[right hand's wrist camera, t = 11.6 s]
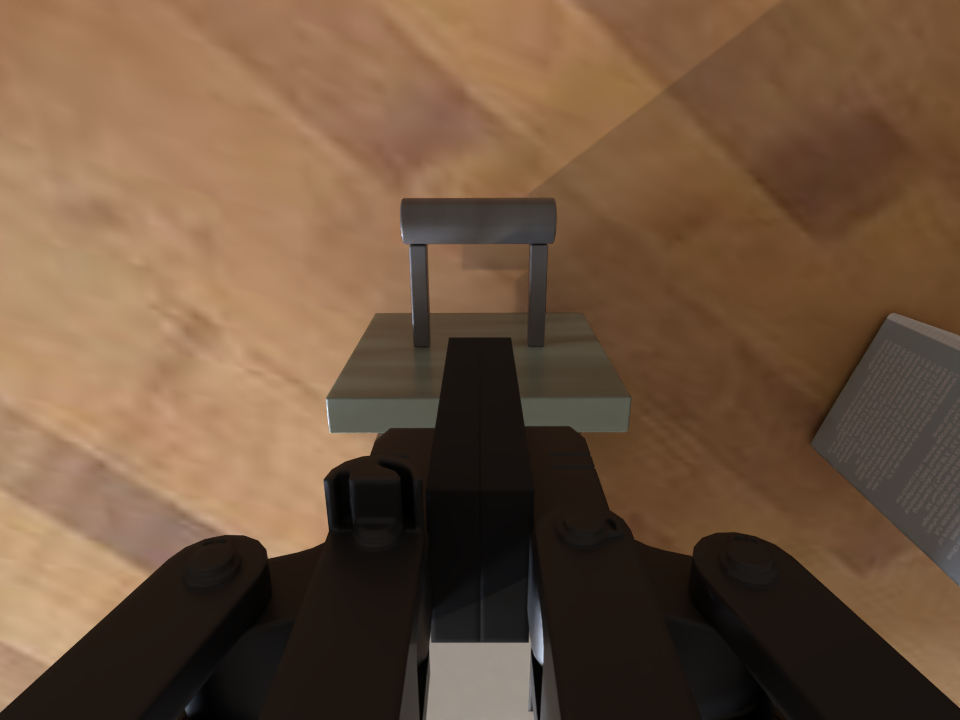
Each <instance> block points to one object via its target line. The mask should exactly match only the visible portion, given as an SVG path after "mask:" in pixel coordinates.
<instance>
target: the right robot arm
mask: <svg viewBox="0 0 960 720" xmlns="http://www.w3.org/2000/svg"><path fill="white" fill-rule="evenodd" d="M324 489H325V498H326V507H327V516H328V525H329V533H328V535H327V538H326V541H325V542H324V543H322V544H320V545H318V546H316V547H314V548H311V549H308V550H304V551H301V552H298V553H293V554H288V555H284V556H279V557H275V558H270V559H268V557H267V551H266V549H265V548H264V547H263V545H262V544H261V543H260V542H259V541H258V540H255V539H252V538H250V537H247V536H244V535H223V536H218V537H213V538H208V539H204V540H202V541H199V542H197V543H195V544H192V545H190V546H188V547H185V548H184V549H182V550H181V551H180V552H178V553H177V554H175V555H174V556H172V557H171V558H170V559H168V560H167V561H166V562H165V563H164V564H163V565H162V566H161V567H159V568H158V569H157V570H156V571H155V572H154V573H153V574H152V575H151V576H150V577H148V578H147V579H146V580H145V581H144V582H143V583H142V584H141V585H140V586H139V587H138V588H136V589H135V590H134V591H133V592H132V593H131V594H130V595H129V596H128V597H127V598H125V599H124V600H123V601H122V602H121V603H120V604H119V605H118V606H117V607H116V608H114V609H113V610H112V611H111V612H110V613H109V614H108V615H107V616H106V617H105V618H104V619H102V620H101V621H100V622H99V623H98V624H97V625H96V626H95V627H94V628H93V629H91V630H90V631H89V632H88V633H87V634H86V635H85V636H84V637H83V638H82V639H81V640H79V641H78V642H77V643H76V644H75V645H74V646H73V647H72V648H71V649H70V650H68V651H67V652H66V653H65V654H64V655H63V656H62V657H61V658H60V659H59V660H58V661H56V662H55V663H54V664H53V665H52V666H51V667H50V668H49V669H48V670H47V671H45V672H44V673H43V674H42V675H41V676H40V677H39V678H38V679H37V680H36V681H35V682H33V683H32V684H31V685H30V686H29V687H28V688H27V689H26V690H25V691H24V692H22V693H21V694H20V695H19V696H18V697H17V698H16V699H15V700H14V701H13V702H12V703H10V704H9V705H8V706H7V707H6V708H5V709H4V710H3V711H2V712H1V713H0V720H426V715H427V704H428V693H429V682H430V655H429V644H430V634H431V643H529V631H530V641H531V655H530V680H529V705H528V712H533V714H534V720H960V708H959V707H958V706H957V705H956V704H955V703H953V702H952V701H951V700H950V699H949V698H948V697H947V696H946V695H945V694H943V693H942V692H941V691H940V690H939V689H938V688H937V687H936V686H935V685H934V684H932V683H931V682H930V681H929V680H928V679H927V678H926V677H925V676H924V675H923V674H921V673H920V672H919V671H918V670H917V669H916V668H915V667H914V666H913V665H911V664H910V663H909V662H908V661H907V660H906V659H905V658H904V657H903V656H902V655H900V654H899V653H898V652H897V651H896V650H895V649H894V648H893V647H892V646H890V645H889V644H888V643H887V642H886V641H885V640H884V639H883V638H882V637H881V636H879V635H878V634H877V633H876V632H875V631H874V630H873V629H872V628H871V627H870V626H868V625H867V624H866V623H865V622H864V621H863V620H862V619H861V618H860V617H858V616H857V615H856V614H855V613H854V612H853V611H852V610H851V609H850V608H849V607H847V606H846V605H845V604H844V603H843V602H842V601H841V600H840V599H839V598H837V597H836V596H835V595H834V594H833V593H832V592H831V591H830V590H829V589H828V588H826V587H825V586H824V585H823V584H822V583H821V582H820V581H819V580H818V579H816V578H815V577H814V576H813V575H812V574H811V573H810V572H809V571H808V570H807V569H805V568H804V567H803V566H802V565H801V564H800V563H799V562H798V561H797V560H796V559H794V558H793V557H792V556H791V555H789V554H788V553H786V552H785V551H784V550H782V549H781V548H779V547H778V546H776V545H775V544H772V543H770V542H768V541H765V540H763V539H760V538H758V537H756V536H751V535H747V534H741V533H736V532H730V533H715V534H712V535H709V536H706V537H703V538H702V539H701V540H700V541H699V542H698V543H697V544H696V545H695V547H694V551H693V556H688V555H683V554H679V553H674V552H670V551H665V550H661V549H658V548H654V547H651V546H648V545H645V544H643V543H641V542H639V541H637V540H635V539H634V537H633V535H632V532H631V530H630V528H629V527H628V526H627V524H626V523H625V521H624V520H623V519H622V518H620V517H619V516H617V515H616V514H615V513H613V512H612V511H610V510H609V507H608V504H607V501H606V498H605V495H604V492H603V490H602V487H601V484H600V481H599V478H598V475H597V472H596V469H594V463H593V461H592V458H591V457H590V452H589V449H588V446H587V443H586V440H585V438H583V437H582V436H581V435H580V434H579V433H578V432H576V431H575V430H574V429H573V428H572V427H570V426H525V424H524V418H523V411H522V405H521V398H520V392H519V385H518V379H517V372H516V366H515V359H514V353H513V346H512V340H511V337H449V340H448V346H447V353H446V359H445V366H444V372H443V379H442V385H441V392H440V398H439V405H438V411H437V418H436V424H435V428H390V429H388V430H387V431H386V432H385V433H384V434H383V435H381V436H380V437H379V438H378V439H377V440H375V443H374V446H373V449H372V451H371V454H370V456H362V457H359V458H356V459H352V460H349V461H346V462H344V463H342V464H341V465H339V466H337V467H335V468H334V469H332V470H331V471H330V472H329V474H328V475H327V476H326V477H325V479H324Z"/></svg>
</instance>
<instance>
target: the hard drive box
mask: <svg viewBox="0 0 960 720" xmlns="http://www.w3.org/2000/svg"><path fill="white" fill-rule="evenodd" d="M811 446H812V447H813V449H815V450H816V451H817V452H818V453H819V454H820V455H821V456H822V457H823V458H824V459H825V460H826V461H827V462H828V463H829V464H830V465H831V466H832V467H833V468H834V469H835V470H836V471H837V472H839V473H840V474H841V475H842V476H843V477H844V478H845V479H846V480H847V481H848V482H849V483H850V484H851V485H852V486H853V487H854V488H856V489H857V490H858V491H859V492H860V493H861V494H862V495H863V496H864V497H865V498H866V499H867V500H868V501H869V502H870V503H871V504H873V505H874V506H875V507H876V508H877V509H878V510H879V511H880V512H881V513H882V514H883V515H884V516H885V517H886V518H887V519H888V520H889V521H891V522H892V523H893V524H894V525H895V526H896V527H897V528H898V529H899V530H900V531H901V532H902V533H903V534H904V535H905V536H906V537H908V538H909V539H910V540H911V541H912V542H913V543H914V544H915V545H916V546H917V547H918V548H919V549H920V550H921V551H923V552H924V553H925V554H926V555H927V556H928V557H929V558H930V559H931V560H932V561H933V562H934V563H935V564H936V565H937V566H938V567H939V568H941V569H942V570H943V571H944V572H945V573H946V574H947V575H948V576H949V577H950V578H951V579H952V580H953V581H954V582H955V583H956V584H957V585H958V586H960V335H957V334H954V333H951V332H948V331H945V330H943V329H940V328H937V327H934V326H931V325H928V324H925V323H922V322H919V321H917V320H914V319H911V318H908V317H905V316H902V315H899V314H896V313H891V314H889V315H888V317H887V318H886V320H885V321H884V323H883V325H882V326H881V328H880V329H879V331H878V333H877V334H876V336H875V338H874V339H873V341H872V343H871V344H870V346H869V348H868V349H867V351H866V353H865V354H864V356H863V357H862V359H861V361H860V362H859V364H858V365H857V367H856V369H855V370H854V372H853V374H852V375H851V377H850V379H849V380H848V382H847V384H846V385H845V387H844V388H843V390H842V392H841V393H840V395H839V397H838V398H837V400H836V401H835V403H834V405H833V406H832V408H831V410H830V412H829V413H828V415H827V417H826V418H825V420H824V422H823V423H822V425H821V427H820V428H819V430H818V432H817V433H816V435H815V437H814V438H813V440H812V442H811Z"/></svg>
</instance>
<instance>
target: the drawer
mask: <svg viewBox="0 0 960 720" xmlns="http://www.w3.org/2000/svg"><path fill="white" fill-rule="evenodd" d="M556 220H557V213H556V202H555V199H554V198H404V199H402V201H401V206H400V228H401V237H402V241H403V243H404V244H410V246H409V258H410V280H411V302H412V313H376V314H375V316H374V317H373V319H372V321H371V322H370V324H369V326H368V328H367V329H366V331H365V333H364V334H363V336H362V338H361V339H360V341H359V343H358V345H357V346H356V348H355V350H354V351H353V353H352V355H351V356H350V358H349V360H348V362H347V363H346V365H345V367H344V368H343V370H342V372H341V373H340V375H339V377H338V379H337V380H336V382H335V384H334V385H333V387H332V389H331V390H330V392H329V394H328V396H327V397H326V405H327V415H328V424H329V432H330V433H378V435H377V438H376V440H377V439H378V438H379V437H380V436H381V435H383V434H384V433H385V432H386V431H387V430H388V429H390V428H435V424H436V418H437V411H438V405H439V398H440V392H441V385H442V379H443V372H444V366H445V359H446V353H447V346H448V340H449V337H511V340H512V346H513V353H514V359H515V366H516V372H517V379H518V385H519V392H520V398H521V405H522V411H523V418H524V424H525V426H570V427H572V428H573V429H574V430H575V431H576V432H578V433H579V434H580V432H628V429H629V419H630V408H631V396H630V394H629V392H628V391H627V389H626V387H625V385H624V384H623V382H622V380H621V379H620V377H619V375H618V373H617V372H616V370H615V368H614V367H613V365H612V363H611V361H610V360H609V358H608V356H607V354H606V353H605V351H604V349H603V348H602V346H601V344H600V342H599V341H598V339H597V337H596V336H595V334H594V332H593V330H592V329H591V327H590V325H589V323H588V322H587V320H586V318H585V317H584V315H583V313H546V287H547V260H548V245H547V244H552V243H553V242H554V240H555V235H556ZM427 244H530V245H529V283H528V313H430V305H429V276H428V247H427ZM580 435H581V434H580Z"/></svg>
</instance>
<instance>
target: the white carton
mask: <svg viewBox="0 0 960 720" xmlns="http://www.w3.org/2000/svg"><path fill="white" fill-rule="evenodd" d="M429 655H430V682H429V693H428V704H427V715H426V720H534V714H533V712H528V705H529V680H530V655H531V641H530V631H529V643H431V634H430V644H429Z"/></svg>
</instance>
